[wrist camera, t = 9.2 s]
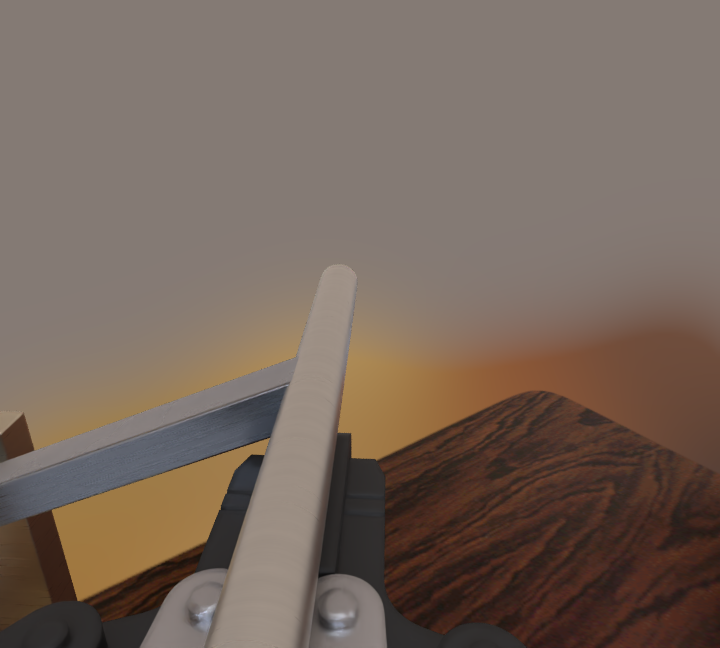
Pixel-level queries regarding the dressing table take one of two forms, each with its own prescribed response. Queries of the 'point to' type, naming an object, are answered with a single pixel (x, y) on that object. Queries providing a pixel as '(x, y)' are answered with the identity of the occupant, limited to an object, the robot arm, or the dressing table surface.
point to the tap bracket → (28, 544)
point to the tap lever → (219, 435)
